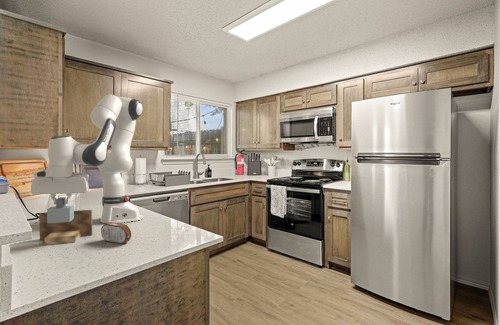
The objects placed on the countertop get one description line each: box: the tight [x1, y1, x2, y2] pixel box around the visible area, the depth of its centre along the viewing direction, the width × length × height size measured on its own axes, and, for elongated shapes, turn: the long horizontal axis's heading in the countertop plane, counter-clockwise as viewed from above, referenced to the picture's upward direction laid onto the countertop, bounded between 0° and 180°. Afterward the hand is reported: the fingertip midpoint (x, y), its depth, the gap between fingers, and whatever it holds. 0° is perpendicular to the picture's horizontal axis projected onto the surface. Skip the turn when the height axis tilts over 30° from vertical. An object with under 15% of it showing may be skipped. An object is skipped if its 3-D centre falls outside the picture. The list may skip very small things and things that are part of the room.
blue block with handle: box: [46, 196, 75, 223], centre depth 109 cm, size 8×6×10 cm
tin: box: [100, 222, 132, 245], centre depth 110 cm, size 15×3×8 cm, turn 71°
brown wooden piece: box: [38, 209, 93, 246], centre depth 112 cm, size 20×10×12 cm, turn 111°
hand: (61, 204), depth 109 cm, fingers closed on blue block with handle
